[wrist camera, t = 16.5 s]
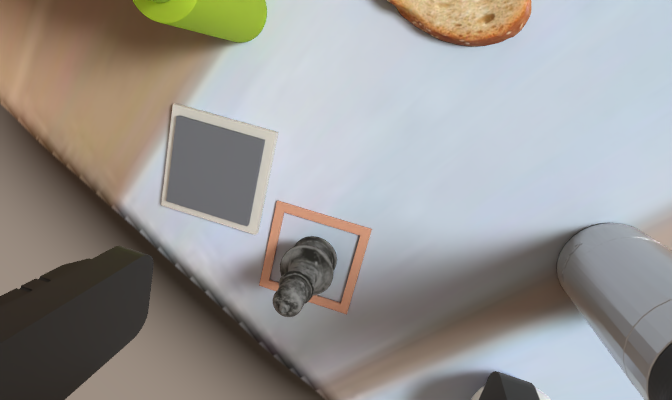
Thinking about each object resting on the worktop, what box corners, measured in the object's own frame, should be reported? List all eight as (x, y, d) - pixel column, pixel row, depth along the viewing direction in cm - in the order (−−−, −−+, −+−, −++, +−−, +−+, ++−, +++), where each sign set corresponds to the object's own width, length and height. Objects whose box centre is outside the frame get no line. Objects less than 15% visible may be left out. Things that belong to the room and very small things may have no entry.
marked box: (371, 228, 44) (371, 229, 44) (347, 312, 48) (346, 314, 47) (277, 200, 45) (277, 201, 45) (260, 284, 49) (259, 285, 49)
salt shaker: (299, 285, 48) (263, 347, 37) (282, 240, 47) (239, 289, 35) (345, 275, 46) (323, 336, 35) (329, 228, 45) (300, 275, 34)
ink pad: (278, 132, 43) (273, 133, 42) (258, 232, 47) (253, 236, 46) (177, 103, 45) (169, 104, 43) (165, 203, 48) (157, 206, 47)
